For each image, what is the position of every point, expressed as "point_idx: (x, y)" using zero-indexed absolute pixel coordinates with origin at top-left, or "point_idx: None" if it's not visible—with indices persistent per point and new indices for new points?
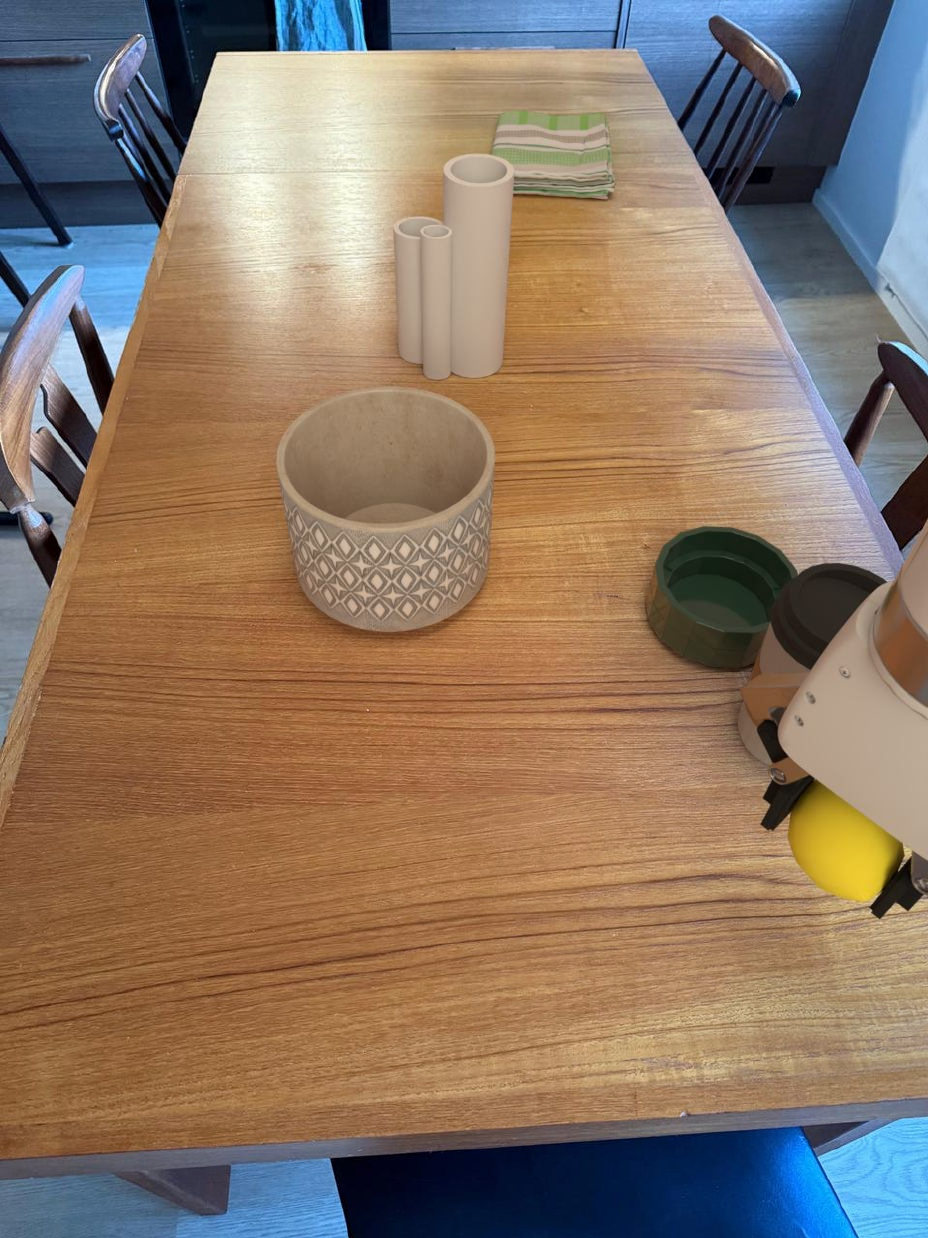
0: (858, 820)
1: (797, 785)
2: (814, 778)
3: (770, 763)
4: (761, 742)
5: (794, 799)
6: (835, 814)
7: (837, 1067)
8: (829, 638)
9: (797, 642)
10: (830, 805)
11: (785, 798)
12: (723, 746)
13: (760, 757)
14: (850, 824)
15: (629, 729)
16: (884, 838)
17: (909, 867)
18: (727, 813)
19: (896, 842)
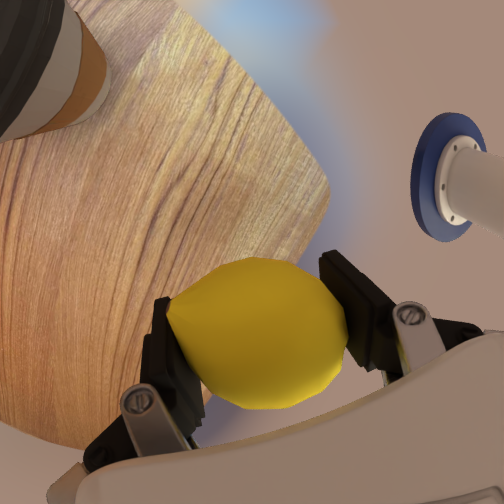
0: (294, 399)
1: (191, 409)
2: (173, 340)
3: (92, 114)
4: (70, 124)
5: (194, 381)
6: (263, 407)
7: (302, 226)
8: None
9: None
10: (247, 405)
11: (200, 419)
12: (61, 140)
13: (83, 120)
14: (290, 406)
15: (24, 210)
16: (331, 369)
17: (374, 363)
18: (112, 175)
19: (341, 347)
